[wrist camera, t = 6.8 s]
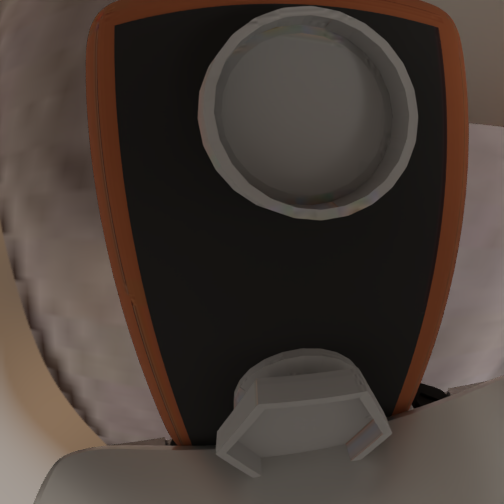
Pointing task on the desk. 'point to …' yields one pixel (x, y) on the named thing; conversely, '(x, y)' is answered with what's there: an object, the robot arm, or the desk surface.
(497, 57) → the overhang shelf
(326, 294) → the battery
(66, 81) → the desk surface
